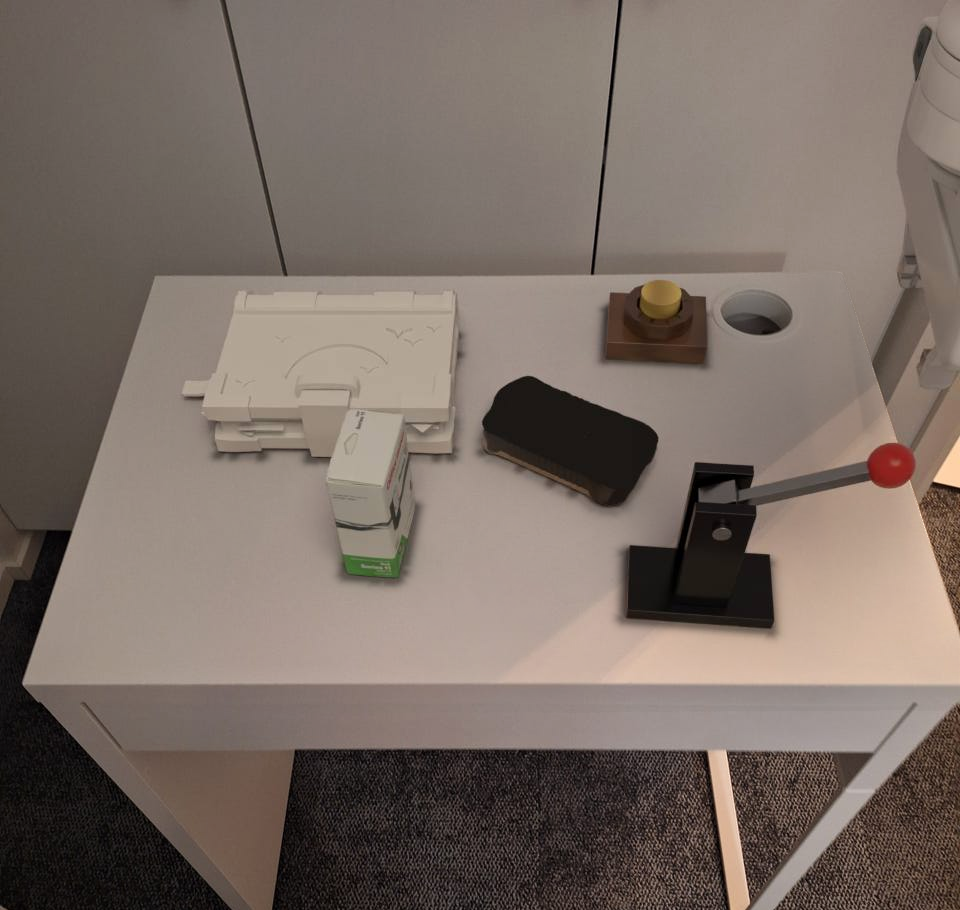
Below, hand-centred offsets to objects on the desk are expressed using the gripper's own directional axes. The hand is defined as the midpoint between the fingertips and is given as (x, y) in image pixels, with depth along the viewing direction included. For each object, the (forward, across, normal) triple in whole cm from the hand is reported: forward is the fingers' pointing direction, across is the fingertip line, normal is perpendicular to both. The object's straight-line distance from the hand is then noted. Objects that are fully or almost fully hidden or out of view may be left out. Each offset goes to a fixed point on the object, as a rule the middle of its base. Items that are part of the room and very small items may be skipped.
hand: (920, 329), depth 59 cm
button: (+22, +31, +14) cm, 41 cm away
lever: (+14, -1, +4) cm, 15 cm away
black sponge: (+26, +14, +22) cm, 37 cm away
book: (+25, +20, +48) cm, 57 cm away
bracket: (+26, -1, +10) cm, 28 cm away
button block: (+26, +32, +14) cm, 43 cm away
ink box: (+26, +2, +38) cm, 46 cm away
